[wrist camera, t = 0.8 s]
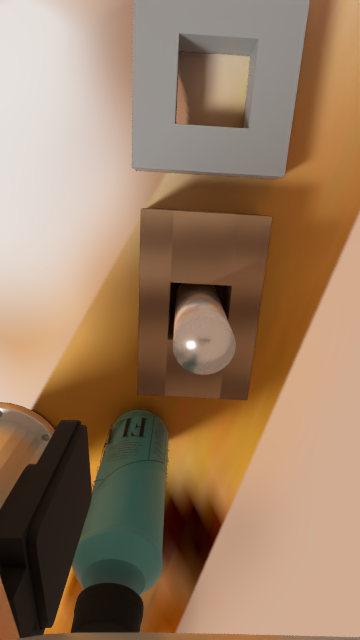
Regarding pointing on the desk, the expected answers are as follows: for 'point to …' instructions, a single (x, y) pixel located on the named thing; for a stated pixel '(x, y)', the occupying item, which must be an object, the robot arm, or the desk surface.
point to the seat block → (262, 90)
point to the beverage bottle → (123, 527)
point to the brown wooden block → (199, 268)
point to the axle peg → (201, 330)
